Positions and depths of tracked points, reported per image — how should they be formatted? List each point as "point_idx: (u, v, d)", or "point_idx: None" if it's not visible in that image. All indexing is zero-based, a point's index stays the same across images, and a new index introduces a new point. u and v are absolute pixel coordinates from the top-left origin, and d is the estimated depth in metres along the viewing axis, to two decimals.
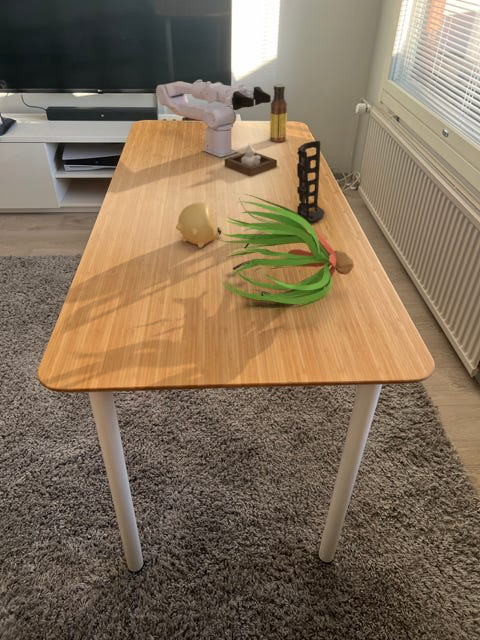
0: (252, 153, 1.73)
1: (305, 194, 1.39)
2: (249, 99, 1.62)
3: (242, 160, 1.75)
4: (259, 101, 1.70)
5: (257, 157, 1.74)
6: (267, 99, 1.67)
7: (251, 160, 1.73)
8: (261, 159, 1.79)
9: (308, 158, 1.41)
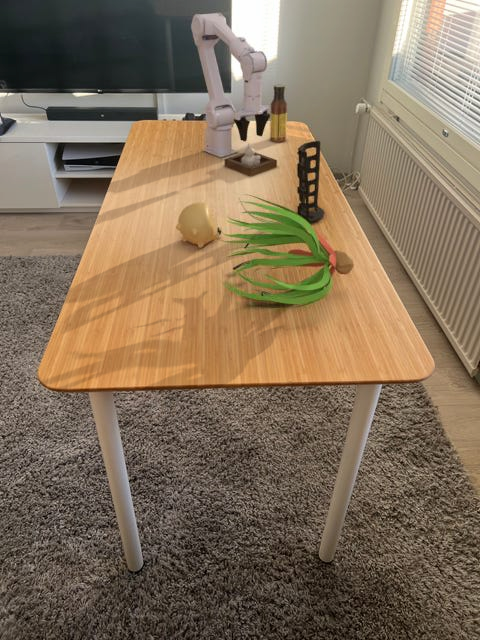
0: (252, 153, 1.73)
1: (305, 194, 1.39)
2: (244, 137, 1.68)
3: (242, 160, 1.75)
4: (256, 120, 1.71)
5: (257, 157, 1.74)
6: (258, 133, 1.73)
7: (251, 160, 1.73)
8: (261, 159, 1.79)
9: (308, 158, 1.41)
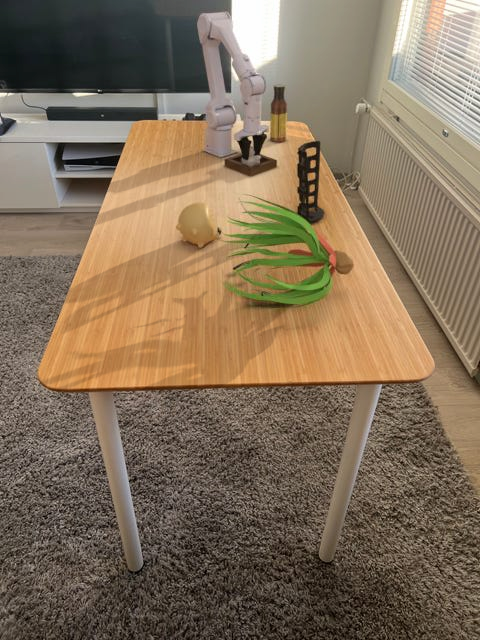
0: (252, 153, 1.73)
1: (305, 194, 1.39)
2: (246, 156, 1.72)
3: (242, 160, 1.75)
4: (254, 141, 1.75)
5: (257, 157, 1.74)
6: (255, 153, 1.76)
7: (251, 160, 1.73)
8: (261, 159, 1.79)
9: (308, 158, 1.41)
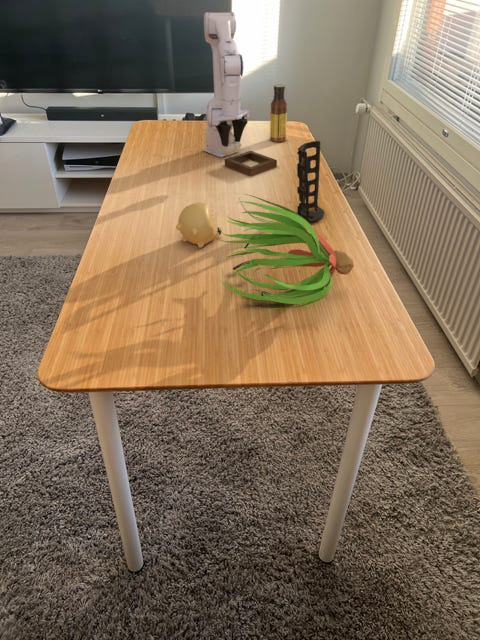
0: (232, 139, 1.63)
1: (305, 194, 1.39)
2: (225, 142, 1.62)
3: (222, 147, 1.65)
4: (234, 126, 1.64)
5: (237, 143, 1.64)
6: (235, 139, 1.66)
7: (231, 146, 1.63)
8: (261, 159, 1.79)
9: (308, 158, 1.41)
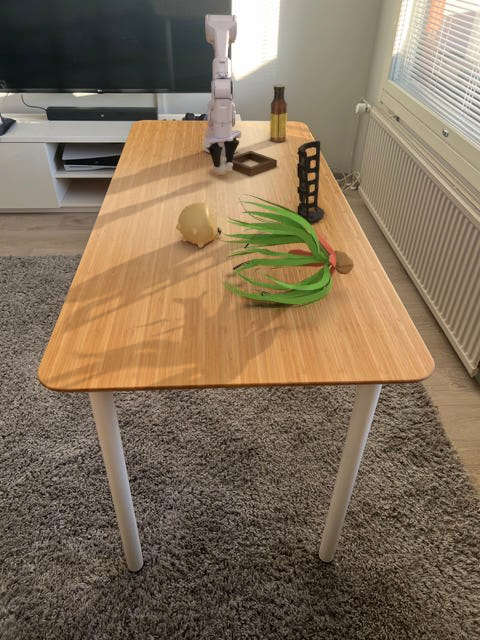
0: (224, 160, 1.64)
1: (305, 194, 1.39)
2: (217, 163, 1.63)
3: (213, 167, 1.66)
4: (225, 147, 1.65)
5: (229, 164, 1.65)
6: (227, 160, 1.67)
7: (223, 167, 1.64)
8: (261, 159, 1.79)
9: (308, 158, 1.41)
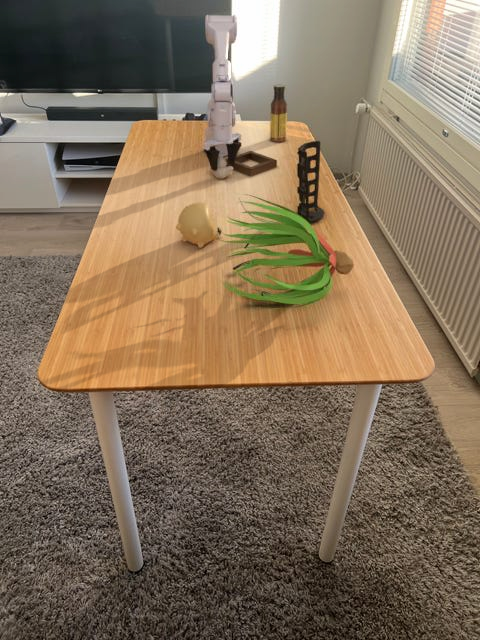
0: (224, 164, 1.65)
1: (305, 194, 1.39)
2: (214, 167, 1.63)
3: (214, 171, 1.67)
4: (228, 149, 1.67)
5: (229, 168, 1.66)
6: (230, 161, 1.68)
7: (223, 171, 1.65)
8: (261, 159, 1.79)
9: (308, 158, 1.41)
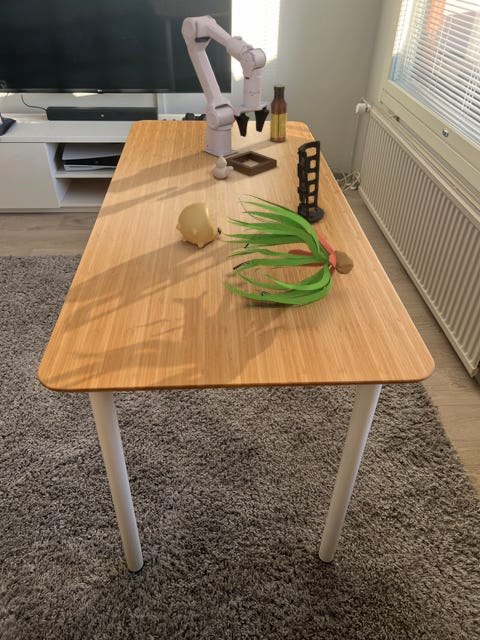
0: (224, 164, 1.65)
1: (305, 194, 1.39)
2: (244, 133, 1.71)
3: (214, 171, 1.67)
4: (256, 117, 1.74)
5: (229, 168, 1.66)
6: (258, 129, 1.76)
7: (223, 171, 1.65)
8: (261, 159, 1.79)
9: (308, 158, 1.41)
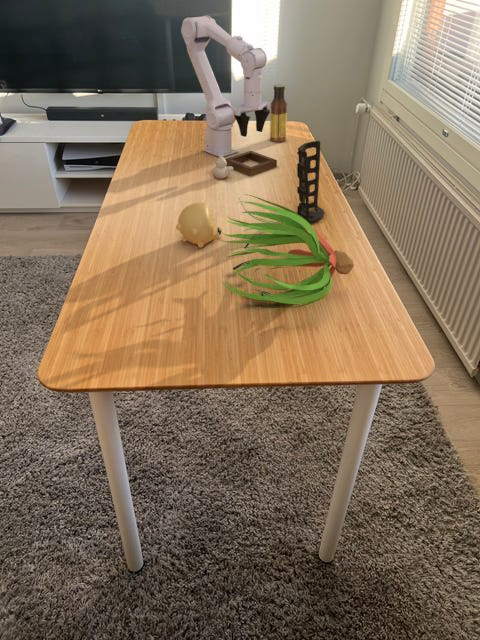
0: (224, 164, 1.65)
1: (305, 194, 1.39)
2: (244, 133, 1.71)
3: (214, 171, 1.67)
4: (256, 116, 1.75)
5: (229, 168, 1.66)
6: (258, 129, 1.76)
7: (223, 171, 1.65)
8: (261, 159, 1.79)
9: (308, 158, 1.41)
